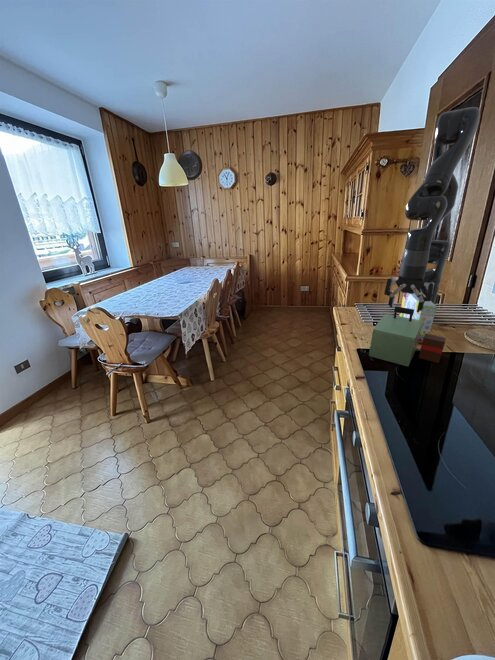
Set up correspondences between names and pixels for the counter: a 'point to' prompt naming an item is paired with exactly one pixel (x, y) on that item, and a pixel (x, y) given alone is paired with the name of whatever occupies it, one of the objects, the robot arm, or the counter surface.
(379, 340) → the bin
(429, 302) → the snack box
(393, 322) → the bin lid
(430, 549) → the counter surface
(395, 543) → the counter surface
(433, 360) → the chocolate
